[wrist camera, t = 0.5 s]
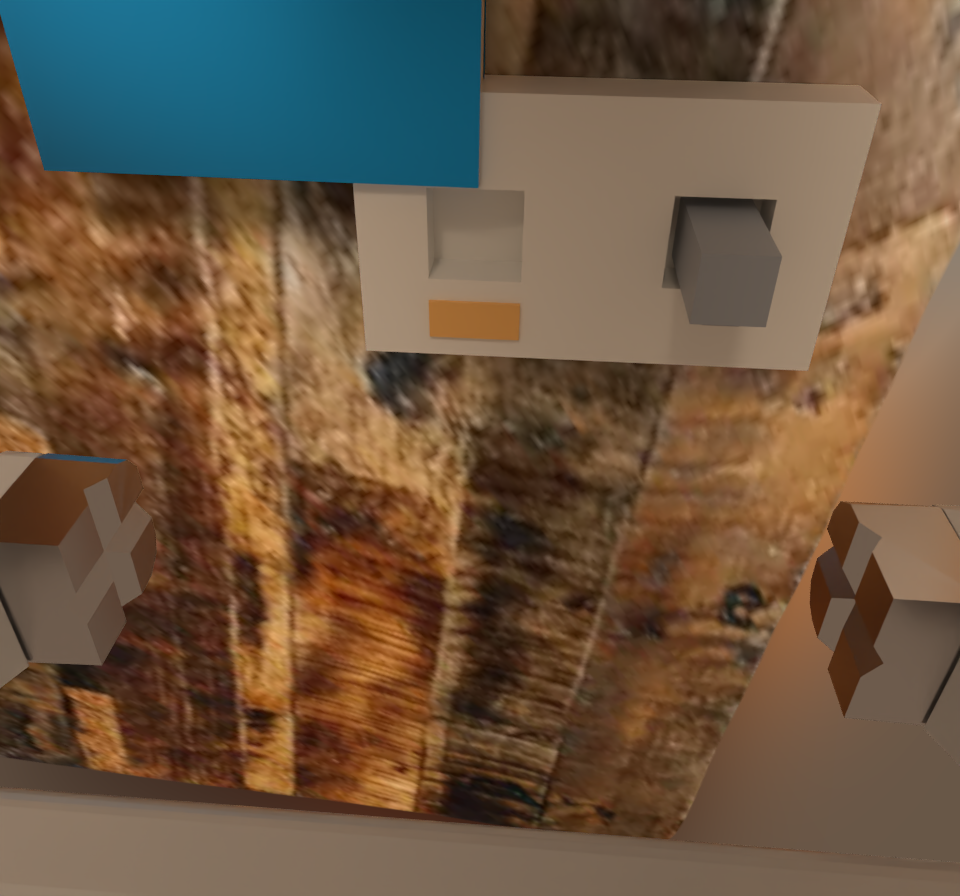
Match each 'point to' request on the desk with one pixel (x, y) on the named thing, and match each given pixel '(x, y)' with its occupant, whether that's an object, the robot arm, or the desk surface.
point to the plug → (724, 261)
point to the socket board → (614, 221)
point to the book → (255, 87)
